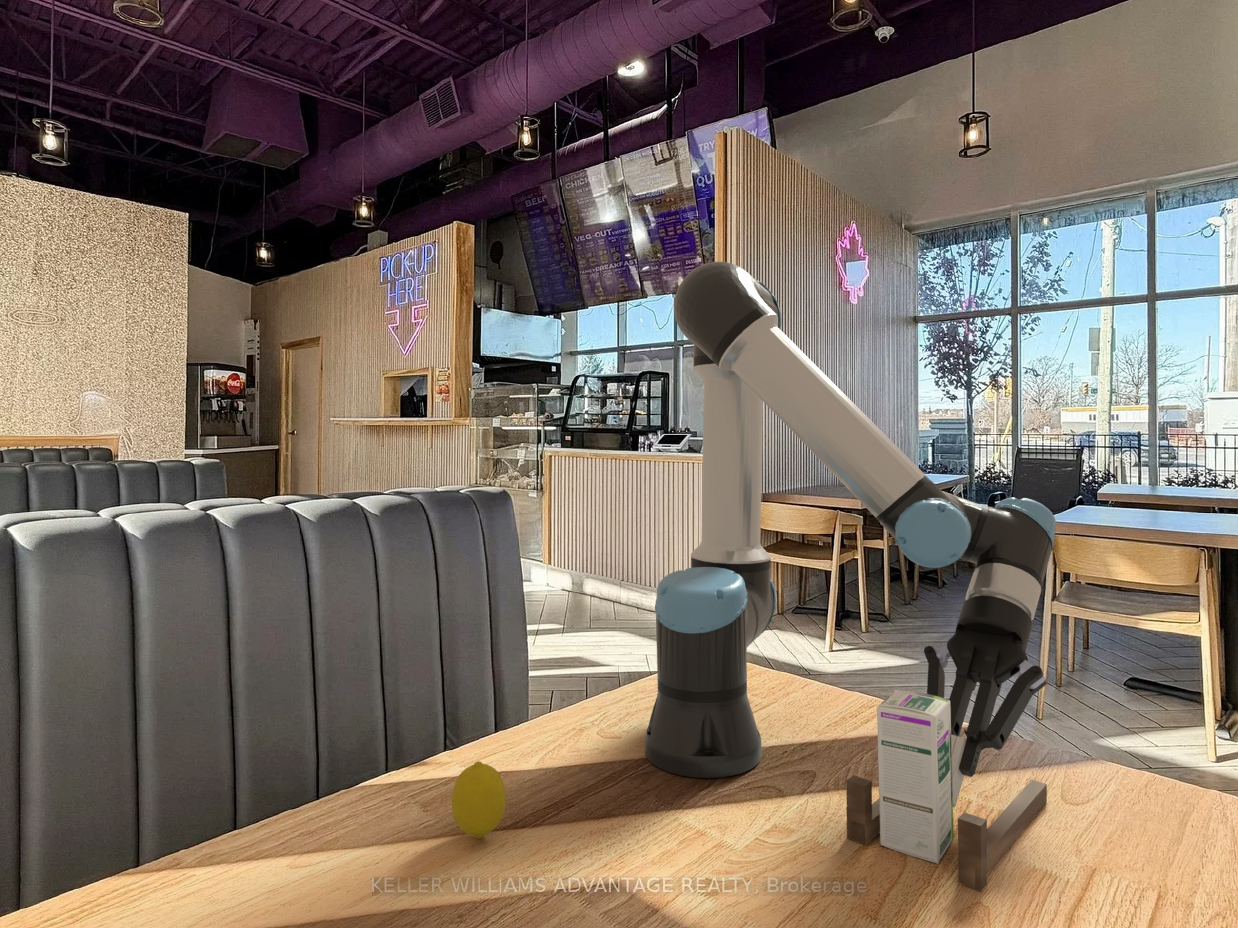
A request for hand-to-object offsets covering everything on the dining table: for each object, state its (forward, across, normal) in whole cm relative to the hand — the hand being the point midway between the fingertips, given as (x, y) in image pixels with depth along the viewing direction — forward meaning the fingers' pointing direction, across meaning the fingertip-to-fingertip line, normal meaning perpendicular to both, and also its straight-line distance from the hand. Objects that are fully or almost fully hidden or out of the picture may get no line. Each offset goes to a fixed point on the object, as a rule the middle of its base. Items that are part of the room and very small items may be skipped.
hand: (944, 798), depth 76 cm
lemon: (+27, +34, +22) cm, 48 cm away
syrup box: (+6, +1, +1) cm, 6 cm away
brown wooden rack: (0, 0, -4) cm, 4 cm away
